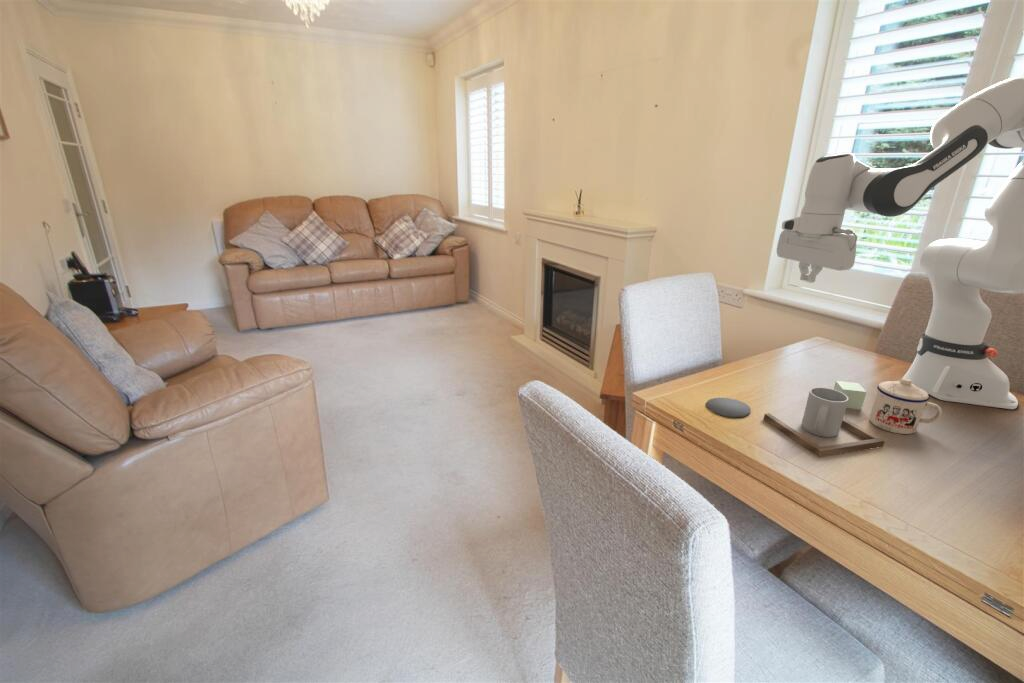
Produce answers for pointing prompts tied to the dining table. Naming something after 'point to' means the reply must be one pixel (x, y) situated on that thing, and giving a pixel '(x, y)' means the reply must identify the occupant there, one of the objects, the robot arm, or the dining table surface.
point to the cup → (824, 411)
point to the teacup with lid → (901, 407)
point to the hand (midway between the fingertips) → (807, 281)
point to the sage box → (852, 393)
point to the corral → (819, 451)
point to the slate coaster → (728, 407)
